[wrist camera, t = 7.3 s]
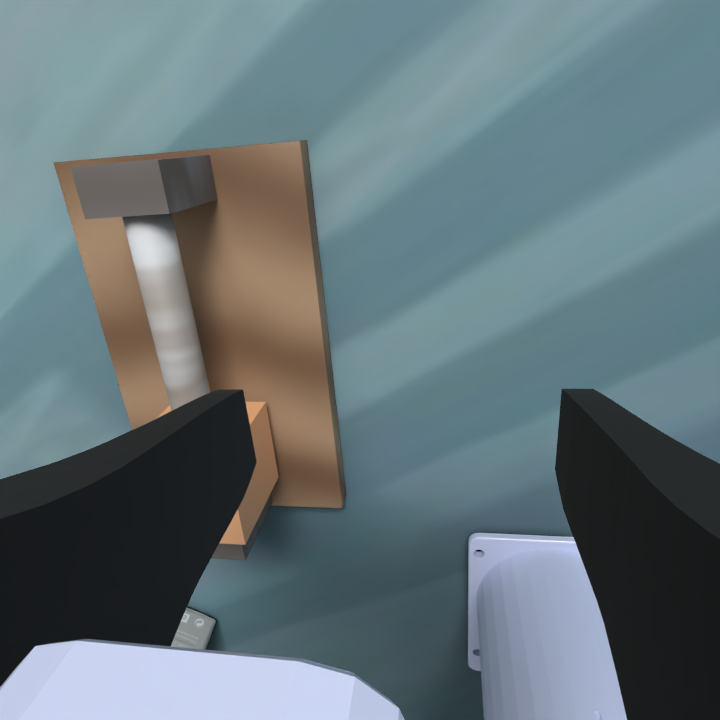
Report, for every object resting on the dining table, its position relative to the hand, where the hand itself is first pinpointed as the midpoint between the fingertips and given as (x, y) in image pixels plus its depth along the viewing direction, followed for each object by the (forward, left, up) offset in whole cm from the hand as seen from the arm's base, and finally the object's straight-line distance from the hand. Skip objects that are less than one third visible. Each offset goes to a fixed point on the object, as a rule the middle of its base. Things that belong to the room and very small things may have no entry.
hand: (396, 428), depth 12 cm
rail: (-2, +9, -10) cm, 14 cm away
